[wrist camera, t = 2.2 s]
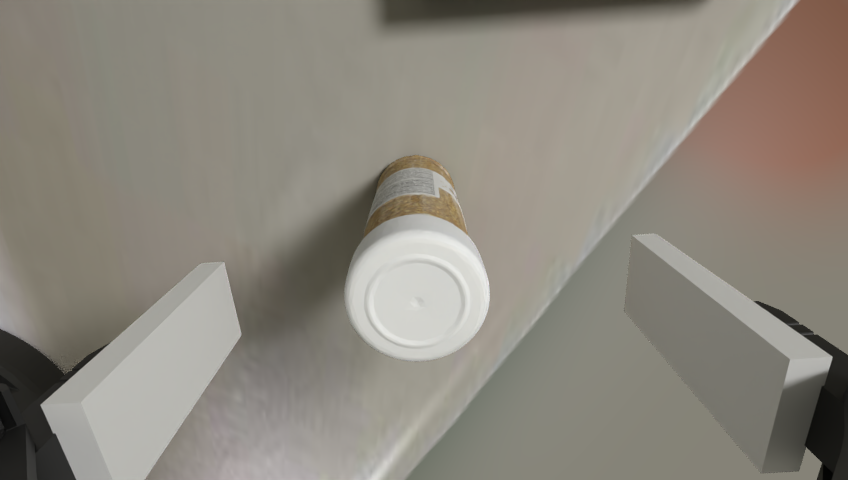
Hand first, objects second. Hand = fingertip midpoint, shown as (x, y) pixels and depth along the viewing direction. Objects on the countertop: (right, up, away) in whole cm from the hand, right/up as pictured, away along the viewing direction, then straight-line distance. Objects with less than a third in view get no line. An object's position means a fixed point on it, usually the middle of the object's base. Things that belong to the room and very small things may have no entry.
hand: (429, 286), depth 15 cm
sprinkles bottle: (-1, +4, +12) cm, 13 cm away
